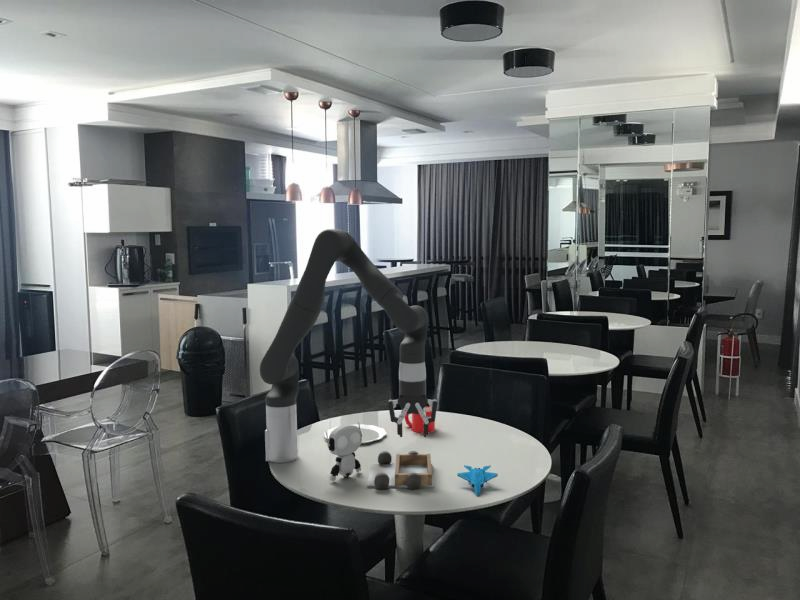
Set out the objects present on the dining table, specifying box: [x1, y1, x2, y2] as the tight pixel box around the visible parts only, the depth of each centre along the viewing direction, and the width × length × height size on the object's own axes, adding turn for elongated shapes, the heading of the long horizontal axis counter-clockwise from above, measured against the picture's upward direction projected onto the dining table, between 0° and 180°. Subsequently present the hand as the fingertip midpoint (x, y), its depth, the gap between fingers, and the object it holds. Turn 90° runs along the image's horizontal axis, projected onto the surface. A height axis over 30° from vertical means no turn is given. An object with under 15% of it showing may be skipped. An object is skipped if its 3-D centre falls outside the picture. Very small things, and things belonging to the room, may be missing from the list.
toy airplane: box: [456, 464, 499, 497], centre depth 178 cm, size 12×10×4 cm
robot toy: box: [325, 421, 363, 482], centre depth 185 cm, size 12×4×15 cm, turn 135°
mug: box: [404, 406, 436, 434], centre depth 230 cm, size 8×12×8 cm, turn 55°
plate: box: [323, 423, 387, 445], centre depth 224 cm, size 21×21×2 cm
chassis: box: [366, 450, 435, 491], centre depth 186 cm, size 18×20×4 cm
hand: (413, 436), depth 185 cm, fingers open, 6 cm apart
